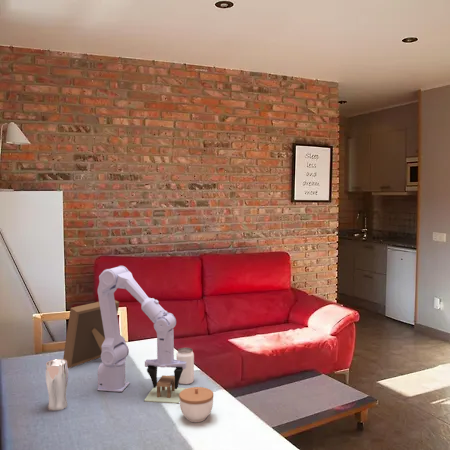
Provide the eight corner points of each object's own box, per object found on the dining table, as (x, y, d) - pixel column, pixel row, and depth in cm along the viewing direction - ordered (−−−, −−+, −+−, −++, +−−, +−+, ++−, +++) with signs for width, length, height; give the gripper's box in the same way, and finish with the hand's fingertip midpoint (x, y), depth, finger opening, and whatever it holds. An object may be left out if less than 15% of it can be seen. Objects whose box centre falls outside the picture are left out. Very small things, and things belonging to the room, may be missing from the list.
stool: (162, 389, 169) (162, 375, 169) (174, 389, 168) (174, 376, 168) (156, 397, 162) (156, 383, 162) (169, 398, 161) (169, 383, 161)
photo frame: (62, 365, 193) (61, 305, 191) (104, 351, 211) (104, 296, 209) (85, 374, 184) (85, 311, 183) (127, 358, 202) (127, 301, 200)
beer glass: (47, 413, 151) (46, 367, 150) (45, 404, 157) (44, 360, 156) (70, 408, 154) (69, 364, 153) (67, 400, 160) (66, 357, 159)
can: (191, 385, 173) (191, 353, 172) (174, 384, 174) (174, 352, 174) (195, 378, 179) (195, 347, 179) (179, 377, 181) (179, 346, 180)
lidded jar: (200, 429, 140) (200, 398, 140) (172, 420, 146) (172, 390, 146) (219, 415, 150) (219, 386, 149) (192, 407, 155) (192, 379, 155)
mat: (144, 401, 160) (144, 400, 159) (154, 387, 171) (154, 386, 171) (178, 403, 158) (178, 402, 158) (186, 389, 170) (186, 388, 170)
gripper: (141, 351, 161) (142, 390, 161) (183, 353, 159) (183, 393, 159) (148, 345, 168) (148, 382, 168) (187, 347, 166) (187, 384, 166)
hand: (165, 387), depth 164 cm, fingers open, 7 cm apart
